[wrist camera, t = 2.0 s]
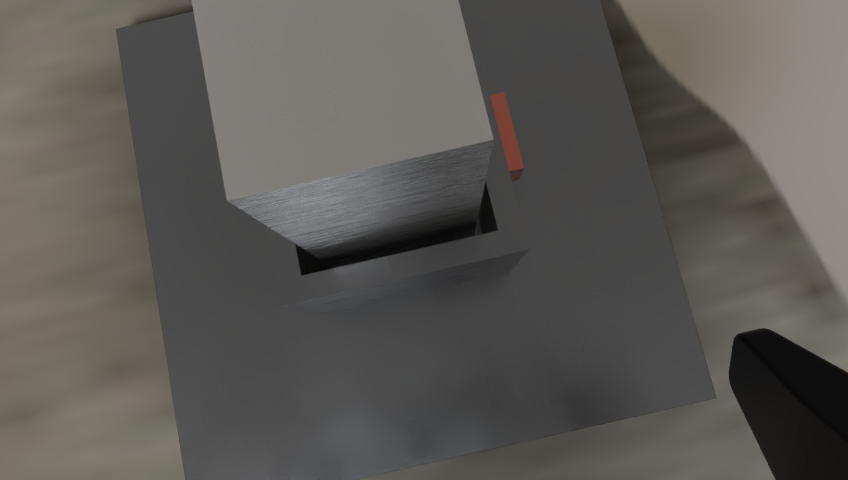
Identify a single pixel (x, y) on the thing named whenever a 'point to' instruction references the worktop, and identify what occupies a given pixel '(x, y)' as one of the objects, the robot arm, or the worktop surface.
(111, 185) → the worktop surface
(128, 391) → the worktop surface
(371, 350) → the stand
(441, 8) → the column
